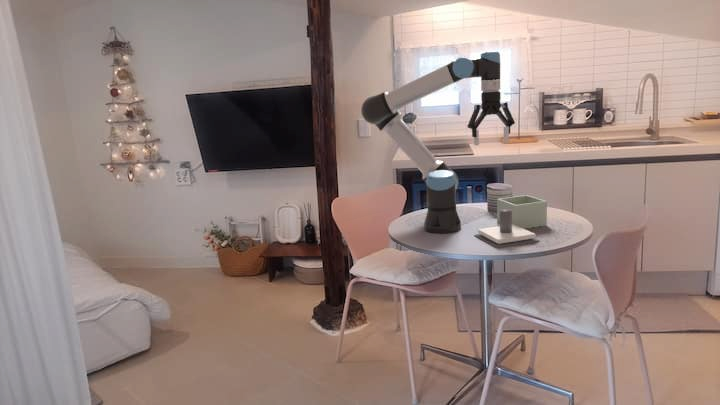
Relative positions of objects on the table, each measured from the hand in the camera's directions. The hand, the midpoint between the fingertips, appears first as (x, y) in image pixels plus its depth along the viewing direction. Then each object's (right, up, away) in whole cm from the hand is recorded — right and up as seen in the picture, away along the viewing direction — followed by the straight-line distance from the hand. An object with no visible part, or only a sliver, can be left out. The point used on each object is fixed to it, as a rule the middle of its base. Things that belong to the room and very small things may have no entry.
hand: (491, 143), depth 202 cm
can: (+10, -28, +22) cm, 37 cm away
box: (+12, -33, -2) cm, 35 cm away
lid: (0, -37, -20) cm, 42 cm away
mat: (0, -38, -20) cm, 43 cm away
